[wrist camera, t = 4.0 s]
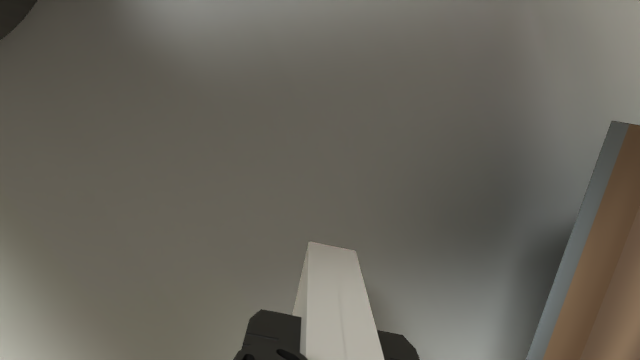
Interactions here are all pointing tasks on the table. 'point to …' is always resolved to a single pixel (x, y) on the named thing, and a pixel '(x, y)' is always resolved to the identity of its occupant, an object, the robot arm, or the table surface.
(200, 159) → the table surface
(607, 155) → the walnut flap
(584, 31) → the table surface
